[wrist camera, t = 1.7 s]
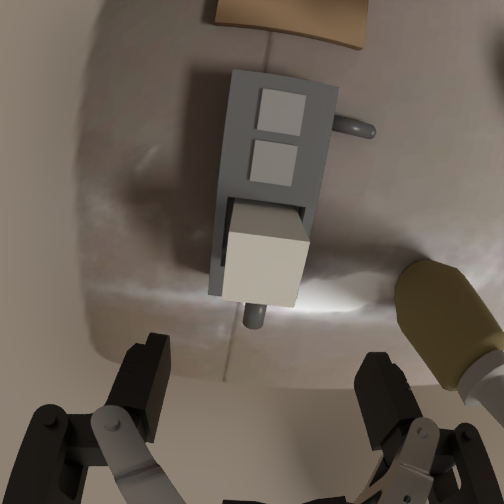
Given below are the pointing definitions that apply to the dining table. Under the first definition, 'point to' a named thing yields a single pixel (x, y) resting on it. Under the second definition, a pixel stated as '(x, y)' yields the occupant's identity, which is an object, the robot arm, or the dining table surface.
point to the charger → (264, 257)
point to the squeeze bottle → (453, 333)
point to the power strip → (274, 150)
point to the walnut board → (300, 18)
